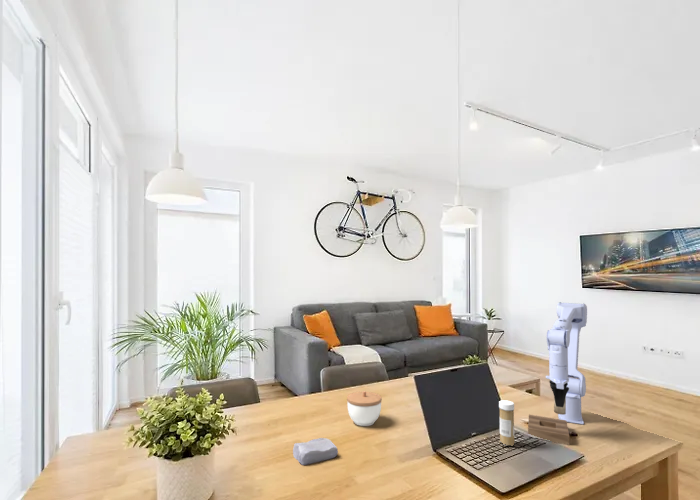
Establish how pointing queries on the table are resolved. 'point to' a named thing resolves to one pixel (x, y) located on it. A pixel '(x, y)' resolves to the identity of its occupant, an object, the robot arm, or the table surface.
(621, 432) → the table surface
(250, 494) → the table surface
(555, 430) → the socket block
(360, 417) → the lidded bowl
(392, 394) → the table surface
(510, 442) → the sprinkles bottle
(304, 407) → the table surface
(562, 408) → the dowel
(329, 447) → the stone block
